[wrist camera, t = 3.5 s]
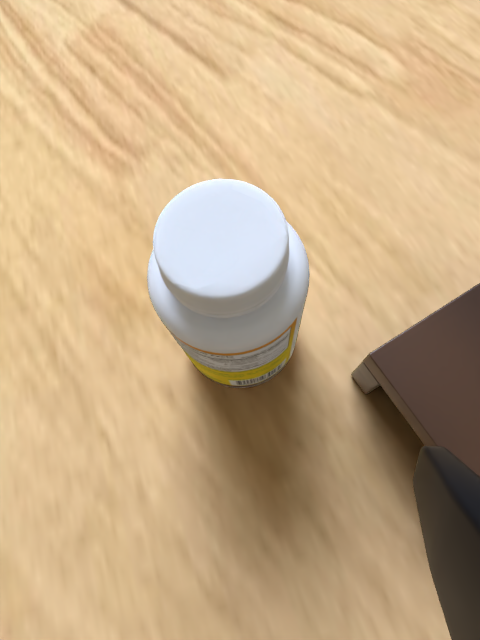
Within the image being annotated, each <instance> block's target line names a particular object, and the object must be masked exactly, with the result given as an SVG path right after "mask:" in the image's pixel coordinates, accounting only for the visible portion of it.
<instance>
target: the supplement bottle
mask: <svg viewBox="0 0 480 640" xmlns="http://www.w3.org/2000/svg"><path fill="white" fill-rule="evenodd" d="M147 280H148V290H149V295H150V299H151V301H152V304H153V307H154V309H155V311H156V313H157V314H158V316H159V318H160V319H161V321H162V322H163V324H164V325H165V326H166V328H167V329H168V330H169V332H170V333H171V334H172V336H173V337H174V338H175V340H176V341H177V343H178V344H179V345H180V346H181V348H182V349H183V350H184V352H185V353H186V355H187V356H188V357H189V359H190V360H191V361H192V363H193V364H194V366H195V367H196V368H197V369H198V370H199V371H200V372H201V373H202V374H203V375H205V376H206V377H207V378H209V379H210V380H212V381H214V382H216V383H218V384H221V385H223V386H227V387H233V388H247V387H253V386H257V385H259V384H262V383H264V382H266V381H268V380H270V379H272V378H273V377H274V376H275V375H277V374H278V373H279V372H280V371H281V370H282V369H283V368H284V367H285V365H286V364H287V363H288V361H289V359H290V357H291V355H292V353H293V350H294V347H295V344H296V340H297V335H298V331H299V327H300V323H301V318H302V313H303V309H304V305H305V301H306V297H307V292H308V287H309V263H308V258H307V254H306V251H305V248H304V245H303V243H302V241H301V239H300V238H299V236H298V234H297V233H296V231H295V230H294V229H293V228H292V226H291V225H290V224H289V223H288V222H287V221H286V219H285V217H284V214H283V212H282V211H281V209H280V207H279V206H278V204H277V203H276V202H275V201H274V200H273V199H272V198H271V197H270V196H269V195H268V194H267V193H266V192H264V191H263V190H261V189H260V188H258V187H256V186H254V185H251V184H249V183H246V182H243V181H238V180H232V179H214V180H209V181H204V182H201V183H198V184H195V185H193V186H191V187H189V188H187V189H185V190H184V191H182V192H181V193H179V194H178V195H176V196H175V197H174V198H173V199H172V200H171V201H170V202H169V203H168V204H167V205H166V207H165V208H164V210H163V211H162V212H161V214H160V216H159V218H158V221H157V223H156V226H155V230H154V236H153V251H152V254H151V257H150V260H149V265H148V275H147Z"/></svg>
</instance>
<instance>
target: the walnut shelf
mask: <svg viewBox="0 0 480 640" xmlns="http://www.w3.org/2000/svg"><path fill="white" fill-rule="evenodd" d="M351 375H352V377H353V378H354V379H355V381H356V382H357V384H358V385H359V386H360V388H361V389H362V391H363V392H364V393H365V394H368V393H369V392H371V391H372V390H374V389H375V388H377V387H378V386H380V385H381V386H382V388H383V389H384V391H385V392H386V393H387V395H388V396H389V397H390V399H391V400H392V401H393V403H394V404H395V406H396V407H397V408H398V410H399V411H400V412H401V414H402V415H403V416H404V418H405V419H406V420H407V422H408V423H409V425H410V426H411V427H412V429H413V430H414V431H415V433H416V434H417V435H418V437H419V438H420V440H421V441H422V442H423V444H424V445H425V446H440V447H445V448H446V449H448V450H449V451H450V452H452V453H453V454H454V455H455V456H456V457H457V458H459V459H460V460H461V461H462V462H463V463H464V464H466V465H467V466H468V467H469V468H470V469H471V470H473V471H474V472H475V473H476V474H477V475H479V476H480V283H479V284H478V285H476V286H474V287H473V288H471V289H470V290H468V291H467V292H465V293H463V294H462V295H460V296H459V297H457V298H456V299H454V300H453V301H451V302H449V303H448V304H446V305H445V306H443V307H442V308H440V309H438V310H437V311H435V312H434V313H432V314H431V315H429V316H427V317H426V318H424V319H423V320H421V321H420V322H418V323H417V324H415V325H413V326H412V327H410V328H409V329H407V330H406V331H404V332H402V333H401V334H399V335H398V336H396V337H395V338H393V339H391V340H390V341H388V342H387V343H385V344H384V345H382V346H380V347H379V348H377V349H376V350H374V351H373V352H371V353H370V354H369V355H368V356H367V357H366V358H365V359H364V360H363V361H362V363H361V364H360V365H359V366H358V367H357V368H356V369H355V370H354V371H353V372H352V374H351Z"/></svg>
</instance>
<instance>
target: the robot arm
mask: <svg viewBox="0 0 480 640" xmlns="http://www.w3.org/2000/svg"><path fill="white" fill-rule="evenodd" d="M413 487H414V493H415V498H416V503H417V508H418V513H419V518H420V523H421V528H422V533H423V538H424V543H425V548H426V553H427V558H428V563H429V567H430V571H431V574H432V578H433V581H434V585H435V588H436V591H437V594H438V597H439V601H440V604H441V607H442V610H443V613H444V616H445V620H446V623H447V626H448V629H449V632H450V636H451V639H452V640H480V476H479V475H477V474H476V473H475V472H474V471H473V470H471V469H470V468H469V467H468V466H467V465H466V464H464V463H463V462H462V461H461V460H460V459H459V458H457V457H456V456H455V455H454V454H453V453H452V452H450V451H449V450H448V449H446V448H445V447H440V446H424V447H422V448H421V450H420V453H419V457H418V461H417V465H416V469H415V473H414V477H413Z"/></svg>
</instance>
